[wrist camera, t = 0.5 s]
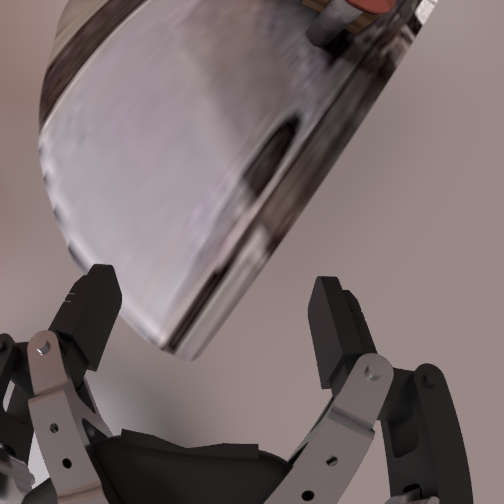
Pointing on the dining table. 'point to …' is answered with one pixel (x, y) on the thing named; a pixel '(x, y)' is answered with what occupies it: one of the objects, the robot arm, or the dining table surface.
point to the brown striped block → (317, 3)
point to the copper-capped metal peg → (343, 17)
